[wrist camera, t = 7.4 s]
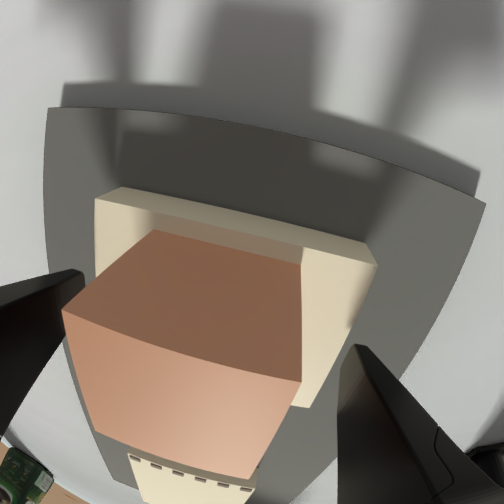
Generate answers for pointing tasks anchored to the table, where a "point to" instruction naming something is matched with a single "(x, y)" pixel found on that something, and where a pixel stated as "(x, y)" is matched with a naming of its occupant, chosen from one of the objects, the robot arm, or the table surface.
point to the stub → (208, 325)
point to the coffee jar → (22, 479)
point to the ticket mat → (273, 207)
